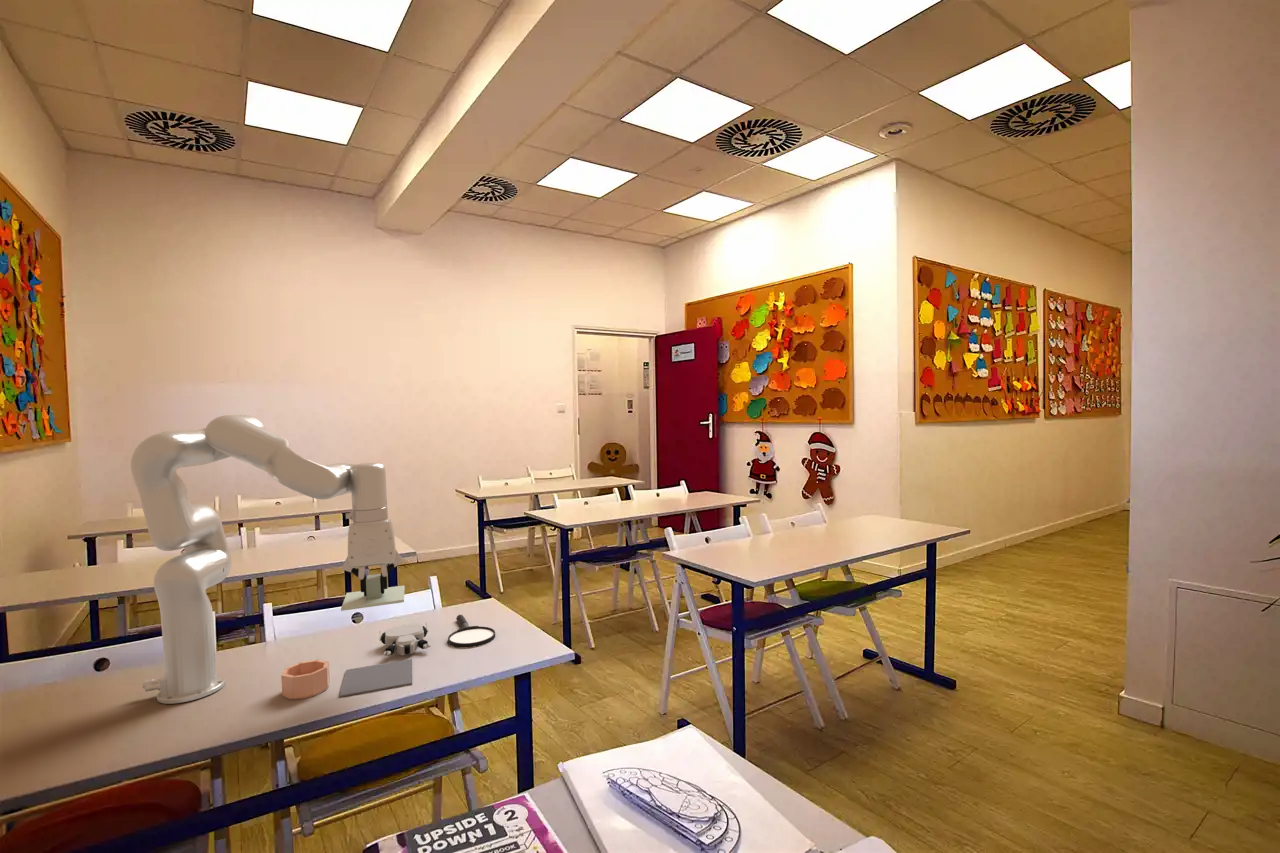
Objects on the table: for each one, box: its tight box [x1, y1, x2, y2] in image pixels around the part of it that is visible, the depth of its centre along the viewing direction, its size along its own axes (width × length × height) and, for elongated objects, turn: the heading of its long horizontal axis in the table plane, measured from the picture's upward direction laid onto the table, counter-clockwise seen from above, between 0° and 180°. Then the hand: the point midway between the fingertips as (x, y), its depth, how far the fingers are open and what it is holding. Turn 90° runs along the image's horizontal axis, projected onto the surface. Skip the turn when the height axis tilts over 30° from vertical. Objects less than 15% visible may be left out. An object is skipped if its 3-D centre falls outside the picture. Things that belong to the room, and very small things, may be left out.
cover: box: [340, 573, 405, 612], centre depth 143 cm, size 13×13×5 cm
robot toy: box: [378, 622, 431, 657], centre depth 162 cm, size 12×4×15 cm
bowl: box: [280, 659, 331, 700], centre depth 139 cm, size 9×9×5 cm
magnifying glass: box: [447, 614, 496, 648], centre depth 172 cm, size 12×24×2 cm, turn 27°
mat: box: [339, 658, 413, 698], centre depth 144 cm, size 15×15×1 cm
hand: (374, 592), depth 143 cm, fingers closed on cover, 3 cm apart
